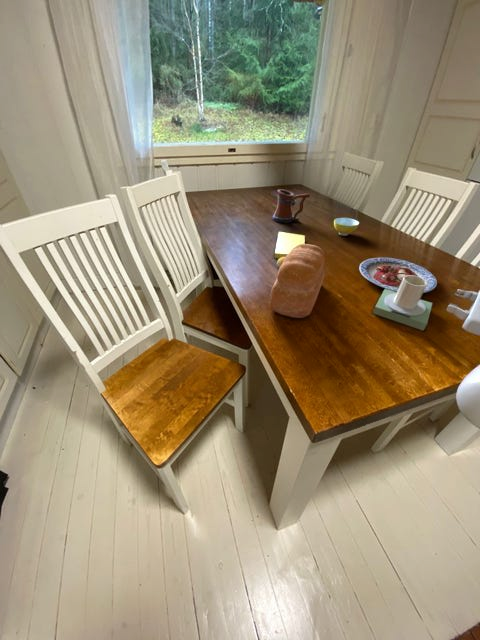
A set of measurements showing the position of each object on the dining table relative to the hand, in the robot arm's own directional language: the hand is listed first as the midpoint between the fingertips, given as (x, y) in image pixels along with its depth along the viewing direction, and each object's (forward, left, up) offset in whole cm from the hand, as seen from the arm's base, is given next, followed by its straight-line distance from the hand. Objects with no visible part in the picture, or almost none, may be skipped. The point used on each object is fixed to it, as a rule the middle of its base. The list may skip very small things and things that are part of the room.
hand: (451, 299), depth 74 cm
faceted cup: (+10, -1, -6) cm, 12 cm away
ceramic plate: (+16, -22, -9) cm, 29 cm away
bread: (+40, +10, -9) cm, 42 cm away
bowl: (+46, -54, -9) cm, 71 cm away
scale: (+10, -1, -9) cm, 14 cm away
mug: (+77, -56, -9) cm, 95 cm away
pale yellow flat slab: (+60, -24, -9) cm, 65 cm away
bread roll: (+52, -7, -9) cm, 53 cm away
